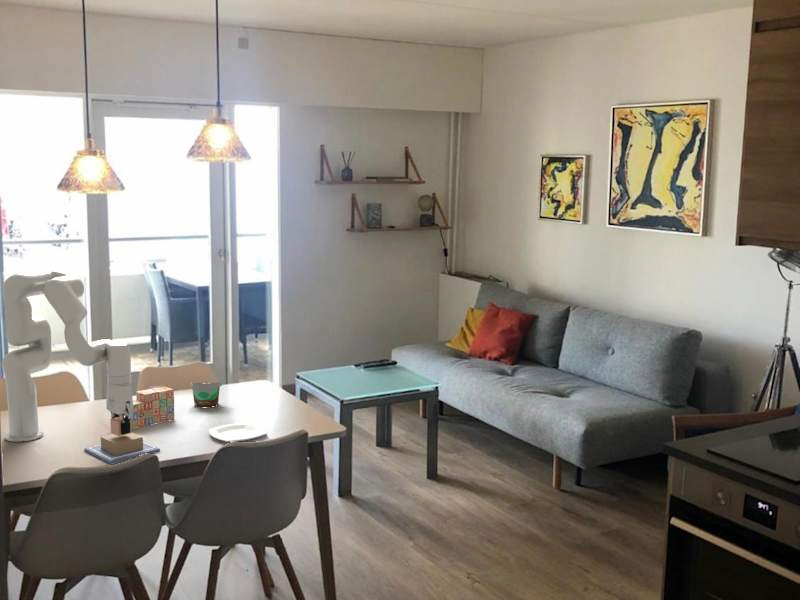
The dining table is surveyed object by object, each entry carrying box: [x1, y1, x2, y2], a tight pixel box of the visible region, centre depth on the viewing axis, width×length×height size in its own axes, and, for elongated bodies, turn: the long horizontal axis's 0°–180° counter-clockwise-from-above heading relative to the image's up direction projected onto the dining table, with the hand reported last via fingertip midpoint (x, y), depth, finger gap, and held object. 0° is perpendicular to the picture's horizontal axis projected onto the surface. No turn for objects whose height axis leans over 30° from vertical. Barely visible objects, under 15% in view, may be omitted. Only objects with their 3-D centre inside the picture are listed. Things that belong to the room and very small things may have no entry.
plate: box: [208, 422, 268, 443], centre depth 305 cm, size 19×19×2 cm
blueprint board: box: [83, 432, 161, 465], centre depth 286 cm, size 18×18×5 cm
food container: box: [189, 380, 222, 408], centre depth 340 cm, size 12×6×10 cm, turn 104°
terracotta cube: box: [109, 416, 133, 436], centre depth 285 cm, size 5×5×5 cm
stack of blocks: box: [120, 386, 175, 430], centre depth 317 cm, size 21×6×12 cm, turn 134°
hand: (121, 431), depth 285 cm, fingers closed on terracotta cube, 5 cm apart
